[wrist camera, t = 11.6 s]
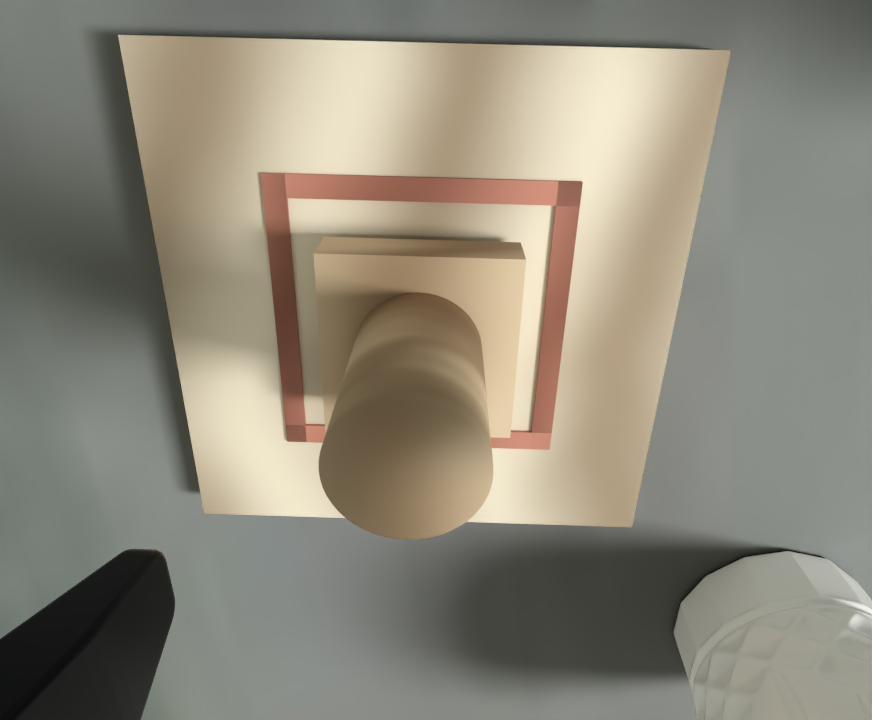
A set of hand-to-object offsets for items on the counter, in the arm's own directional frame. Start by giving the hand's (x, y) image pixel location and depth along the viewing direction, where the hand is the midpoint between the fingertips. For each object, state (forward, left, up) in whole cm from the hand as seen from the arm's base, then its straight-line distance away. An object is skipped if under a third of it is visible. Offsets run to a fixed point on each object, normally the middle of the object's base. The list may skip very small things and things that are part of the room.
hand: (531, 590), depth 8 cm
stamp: (+2, +1, -11) cm, 11 cm away
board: (+2, +1, -12) cm, 12 cm away
